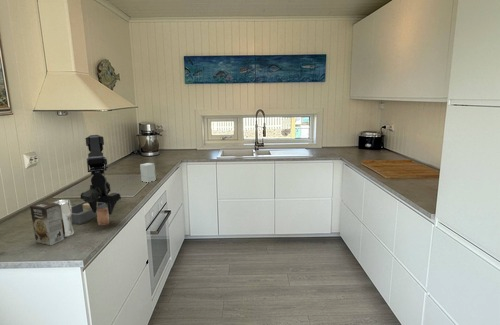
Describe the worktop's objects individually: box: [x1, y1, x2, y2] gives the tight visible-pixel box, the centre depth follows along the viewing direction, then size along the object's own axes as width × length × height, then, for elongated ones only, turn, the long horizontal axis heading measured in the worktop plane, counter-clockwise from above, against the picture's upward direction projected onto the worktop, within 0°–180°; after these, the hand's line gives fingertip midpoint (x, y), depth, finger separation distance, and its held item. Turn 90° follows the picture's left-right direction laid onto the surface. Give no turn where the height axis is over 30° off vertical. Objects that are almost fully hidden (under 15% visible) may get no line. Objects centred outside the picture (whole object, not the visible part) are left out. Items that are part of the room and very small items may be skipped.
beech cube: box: [82, 202, 98, 212], centre depth 163 cm, size 5×5×5 cm
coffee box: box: [29, 201, 65, 246], centre depth 131 cm, size 9×6×16 cm
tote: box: [71, 201, 108, 226], centre depth 159 cm, size 18×14×5 cm
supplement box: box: [139, 162, 157, 184], centre depth 225 cm, size 7×7×13 cm
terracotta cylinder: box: [96, 208, 110, 226], centre depth 150 cm, size 5×5×7 cm
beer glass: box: [52, 199, 75, 238], centre depth 137 cm, size 7×7×15 cm
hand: (102, 213), depth 150 cm, fingers open, 9 cm apart
